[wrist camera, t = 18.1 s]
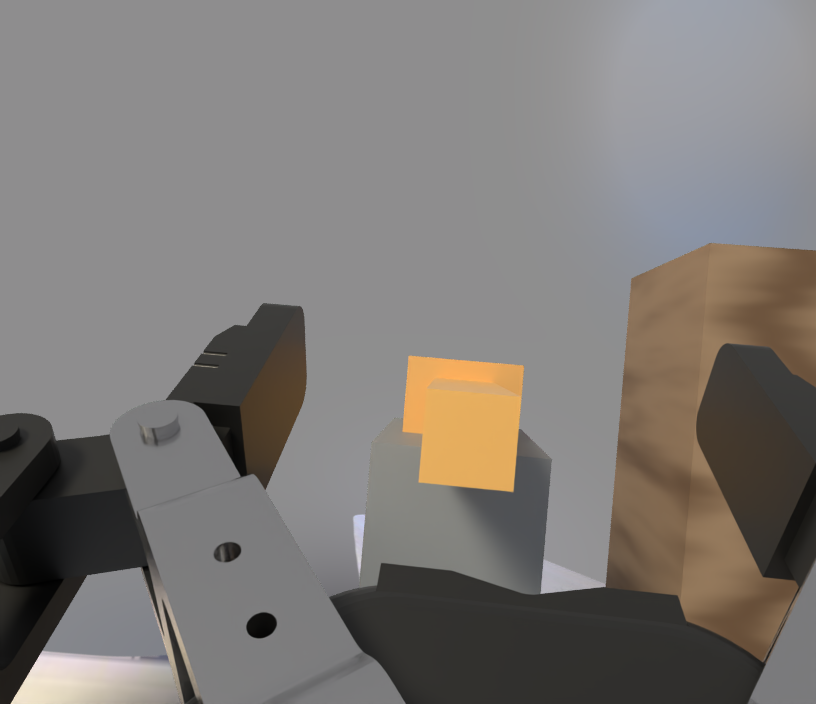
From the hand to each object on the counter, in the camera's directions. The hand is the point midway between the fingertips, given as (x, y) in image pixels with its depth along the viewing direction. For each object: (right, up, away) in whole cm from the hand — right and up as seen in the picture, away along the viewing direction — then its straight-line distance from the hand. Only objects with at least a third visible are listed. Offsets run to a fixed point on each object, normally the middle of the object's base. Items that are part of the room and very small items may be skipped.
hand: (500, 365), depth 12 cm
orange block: (+1, -4, +17) cm, 18 cm away
